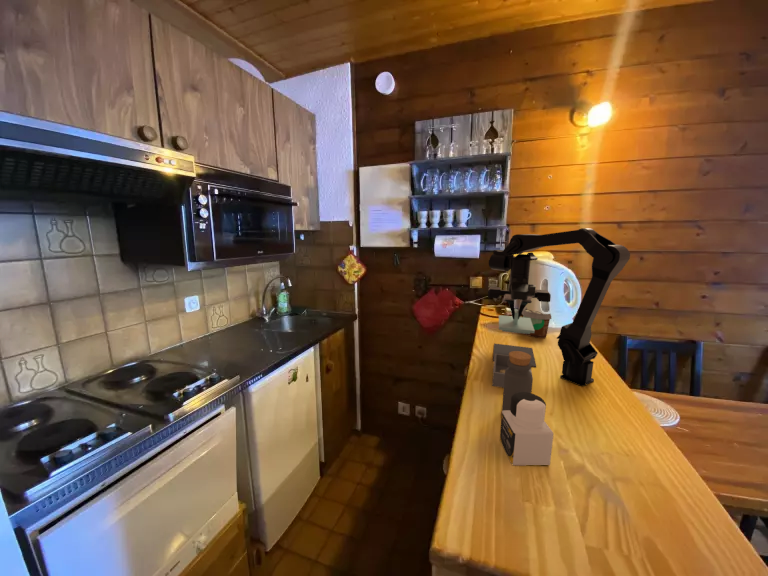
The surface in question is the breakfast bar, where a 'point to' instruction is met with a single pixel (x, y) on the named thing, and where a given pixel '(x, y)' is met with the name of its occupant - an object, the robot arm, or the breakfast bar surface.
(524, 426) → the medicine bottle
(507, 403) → the bottle
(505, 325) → the lid
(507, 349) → the mat
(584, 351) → the robot arm
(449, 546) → the breakfast bar surface
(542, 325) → the food container
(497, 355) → the tub
